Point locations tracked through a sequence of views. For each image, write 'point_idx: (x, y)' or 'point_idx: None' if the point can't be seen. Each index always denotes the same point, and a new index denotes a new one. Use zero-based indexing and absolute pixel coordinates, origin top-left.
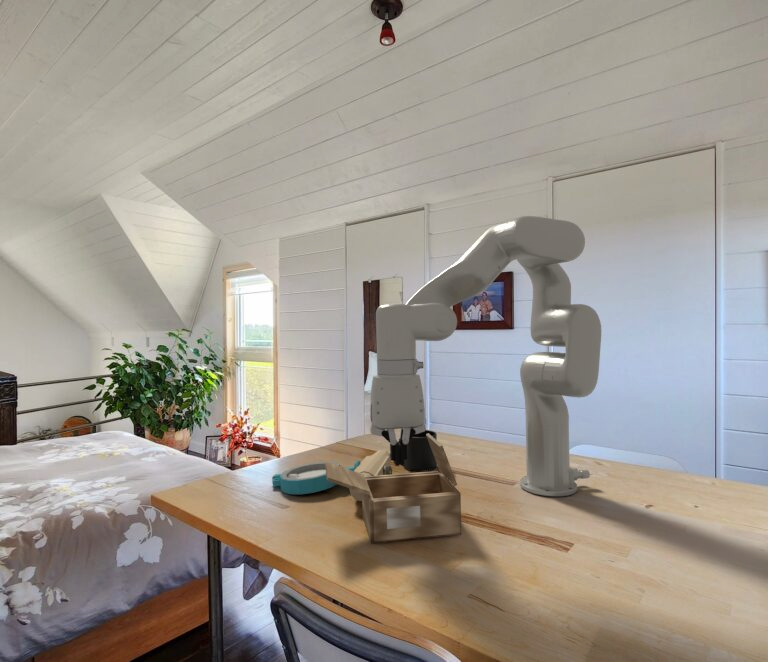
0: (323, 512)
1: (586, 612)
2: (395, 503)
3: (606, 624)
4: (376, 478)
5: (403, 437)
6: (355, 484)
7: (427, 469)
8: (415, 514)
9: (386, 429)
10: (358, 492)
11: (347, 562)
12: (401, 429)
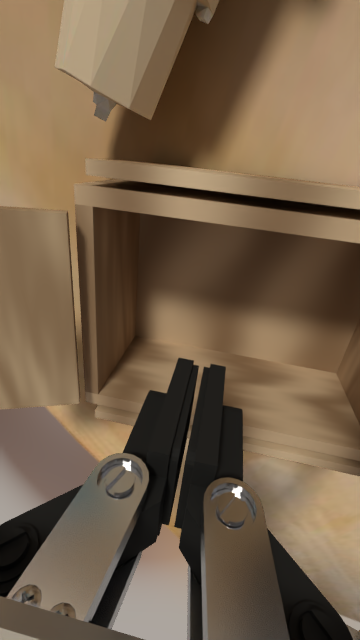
0: (11, 95)
1: (343, 574)
2: None
3: (344, 588)
4: (141, 205)
5: (191, 606)
6: (22, 388)
7: None
8: None
9: (24, 586)
10: (98, 116)
11: (79, 383)
12: (203, 628)
